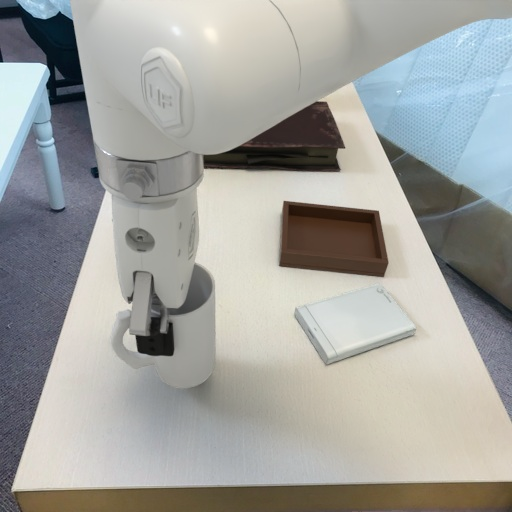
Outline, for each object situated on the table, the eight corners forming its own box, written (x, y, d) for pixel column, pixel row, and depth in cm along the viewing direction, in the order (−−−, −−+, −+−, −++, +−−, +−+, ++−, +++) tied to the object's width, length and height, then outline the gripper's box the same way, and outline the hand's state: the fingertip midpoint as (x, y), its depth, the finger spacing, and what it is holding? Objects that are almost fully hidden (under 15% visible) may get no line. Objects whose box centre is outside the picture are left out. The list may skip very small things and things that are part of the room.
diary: (195, 117, 98) (195, 92, 95) (322, 121, 101) (326, 97, 98) (194, 171, 85) (194, 144, 81) (341, 174, 87) (346, 149, 84)
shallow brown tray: (383, 277, 69) (388, 263, 68) (279, 266, 69) (281, 252, 68) (374, 224, 78) (379, 210, 76) (281, 214, 78) (283, 200, 76)
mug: (203, 328, 57) (198, 251, 48) (228, 376, 52) (227, 300, 44) (114, 361, 53) (91, 284, 45) (133, 414, 49) (112, 341, 41)
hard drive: (379, 281, 66) (295, 305, 62) (417, 327, 61) (329, 357, 57) (376, 290, 68) (293, 314, 63) (413, 336, 62) (326, 365, 58)
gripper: (182, 238, 30) (189, 404, 42) (217, 106, 43) (215, 262, 55) (55, 226, 30) (98, 396, 42) (129, 99, 43) (146, 256, 55)
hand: (164, 319), depth 48 cm, fingers closed on mug, 6 cm apart
